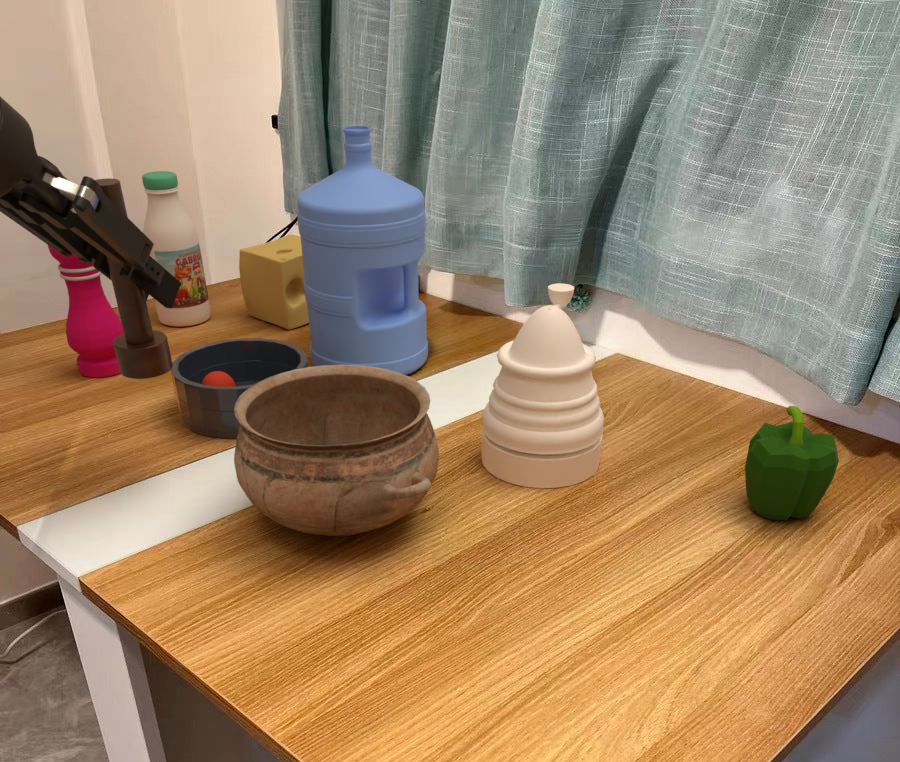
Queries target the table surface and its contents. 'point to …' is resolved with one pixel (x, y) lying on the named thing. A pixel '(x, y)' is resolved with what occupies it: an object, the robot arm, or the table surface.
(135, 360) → the wooden peg on base
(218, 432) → the bowl
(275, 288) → the cheese
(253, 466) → the cooking pot
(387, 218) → the water jug
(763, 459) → the bell pepper
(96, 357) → the pepper mill
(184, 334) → the table surface
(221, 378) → the ball
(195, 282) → the milk bottle
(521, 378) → the honey pot
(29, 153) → the robot arm
